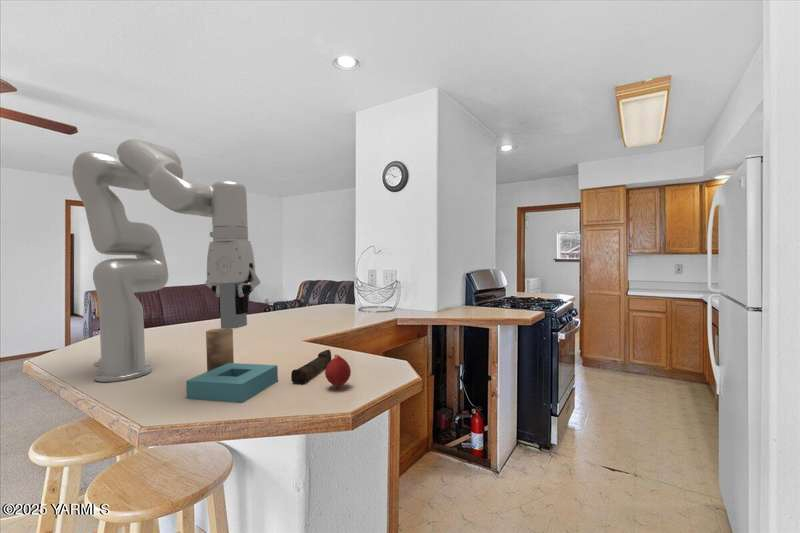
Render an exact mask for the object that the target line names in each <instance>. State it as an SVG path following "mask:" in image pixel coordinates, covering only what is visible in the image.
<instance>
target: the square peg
mask: <svg viewBox="0 0 800 533" xmlns="http://www.w3.org/2000/svg"><path fill="white" fill-rule="evenodd" d="M219 291H220V314H219V315H220V316H219V317H220V328H231V329H239V328H243V327H247V326H248V318H247V315H248V312H247V313H244V314H237V297H239V295H238V290H237V285H236V284H219Z"/></svg>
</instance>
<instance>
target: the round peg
mask: <svg viewBox="0 0 800 533" xmlns="http://www.w3.org/2000/svg"><path fill="white" fill-rule="evenodd" d="M205 342H206V343H205V344H206V345H205V346H206V372H208V371H210V370H213V369H215V368H218V367H220V366H222V365H225V364H227V363H235V362H234V358H235V357H234V328H221V327H220V328H214V329H212V328H211V329H209V330H206V331H205Z"/></svg>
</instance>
